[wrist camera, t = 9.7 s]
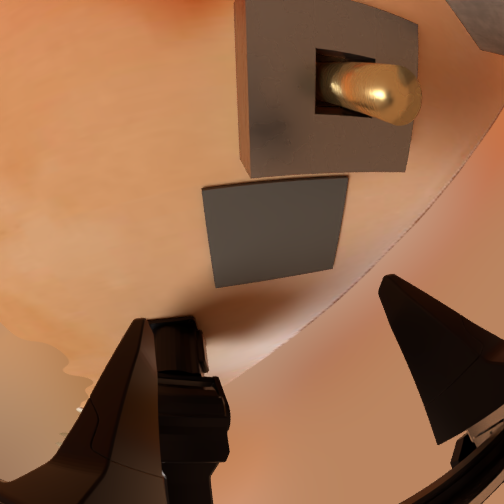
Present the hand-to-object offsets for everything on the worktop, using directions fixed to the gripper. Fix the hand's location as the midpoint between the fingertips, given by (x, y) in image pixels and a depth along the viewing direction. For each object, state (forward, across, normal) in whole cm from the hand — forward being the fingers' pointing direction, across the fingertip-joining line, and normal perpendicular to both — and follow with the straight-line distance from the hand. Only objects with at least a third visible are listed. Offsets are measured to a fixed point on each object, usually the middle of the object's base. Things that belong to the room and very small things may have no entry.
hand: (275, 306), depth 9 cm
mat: (+13, -4, +6) cm, 15 cm away
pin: (+13, -7, -7) cm, 16 cm away
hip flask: (+13, -23, -21) cm, 34 cm away
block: (+13, -7, -7) cm, 16 cm away
